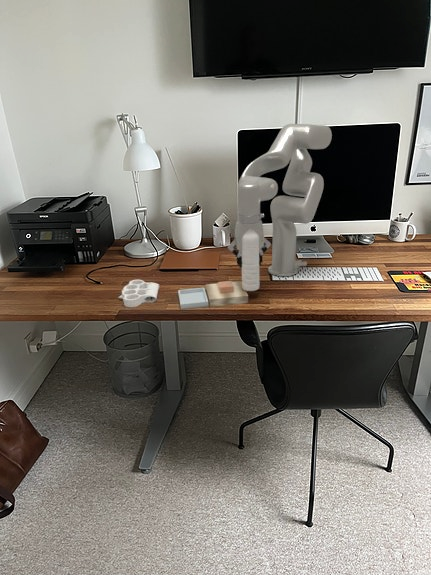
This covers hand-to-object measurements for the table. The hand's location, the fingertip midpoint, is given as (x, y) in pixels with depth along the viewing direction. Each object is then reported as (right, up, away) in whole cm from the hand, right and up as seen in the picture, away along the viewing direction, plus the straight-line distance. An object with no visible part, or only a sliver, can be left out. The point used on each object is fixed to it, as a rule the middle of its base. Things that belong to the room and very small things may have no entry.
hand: (249, 264), depth 164 cm
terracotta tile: (-9, -9, +3) cm, 13 cm away
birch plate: (-8, -12, +4) cm, 15 cm away
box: (-21, -13, +3) cm, 25 cm away
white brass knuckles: (-42, -12, +8) cm, 44 cm away
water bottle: (0, -8, +4) cm, 9 cm away
